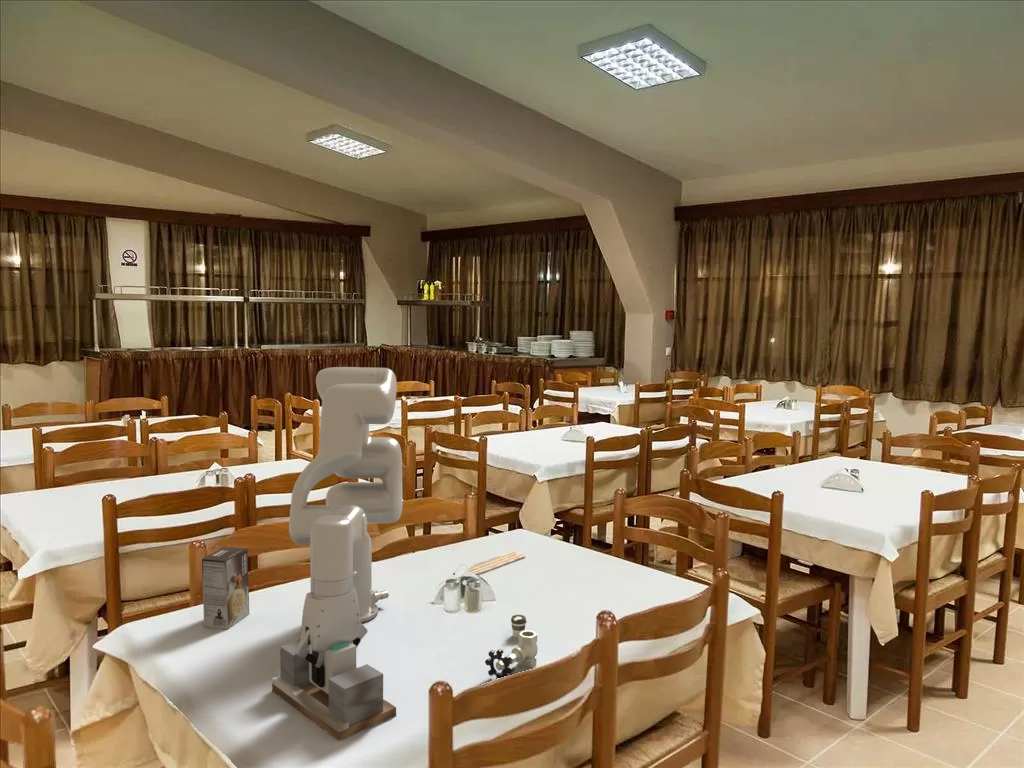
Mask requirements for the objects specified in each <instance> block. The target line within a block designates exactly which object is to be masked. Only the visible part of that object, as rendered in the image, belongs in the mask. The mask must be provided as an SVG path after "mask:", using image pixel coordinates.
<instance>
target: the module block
mask: <svg viewBox="0 0 1024 768" xmlns="http://www.w3.org/2000/svg"><path fill="white" fill-rule="evenodd" d="M311 647H312V645H309V653H310V651H311ZM317 653H318V652H317ZM316 657H317V656H316ZM322 665H323V666H324V667H325V686H324V687H322V688H321V687H319V686H318V685H316V684H315V683H314V682H313V681H312V667H311V663H310V662H309V681H310V682H311V683H313V684H314V685H316V686H317V687H319V688H320V689H321V690H323V691H324V692H326V693H327V694H329V678H331V677H334V676H337V675H339V674H342V673H345V672H347V671H350V670H353V669H355V668H357V648H356V645H354V644H352V643H350V642H343V643H340V644H338V645H335V646H332V647H331V648H329V649H326V650H324V658H323V662H322Z"/></svg>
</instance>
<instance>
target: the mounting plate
mask: <svg viewBox="0 0 1024 768" xmlns="http://www.w3.org/2000/svg"><path fill="white" fill-rule="evenodd" d="M300 641H301V639H299V640H296V641H293V642H290V643H287V644H284V645H281V646H280V648H279V649H280V650H279V653H280V664H279V665H280V675H278V676H275V677H271V688H272V692H273V693H274V694H276V695H277V696H278V697H280V698H281V699H283V700H284V701H285V702H286V703H287V704H289V705H290V706H292V707H293V708H294V709H295V710H296V711H298V712H300V714H302V715H304V716H305V717H306V718H308V719H309V720H310V721H312V722H313V723H314V724H315V725H316V726H318V727H319V728H321V729H322V730H323V731H325V732H326V733H328V734H329V735H330V736H331V737H333V738H334V739H335V740H337V741H338V742H339V741H341V740H344V739H346V738H348V737H350V736H353V735H355V734H357V733H360V732H361V731H365V730H367V729H369V728H371V727H372V726H375V725H377V724H380V723H382V722H384V721H387V720H389V719H391V718H394V717H395V716H397V707H396V706H395V705H393V704H392V703H390V702H389V701H387V700H385V699H384V673H383V672H381V671H379V670H378V669H376V668H374V667H372V666H371V665H369V664H367V663H366V664H363V665H361V666H358V667H356V668H355V669H353V670H350V671H347V672H345V673H342V674H339V675H337V676H334V677H331V678H329V694H327V693H326V692H324V691H323V690H321V689H320V688H319V687H317V686H316V685H314V684H313V683H311V682H310V681H309V662H308V661H307V660H306V659H303V658H301V657H299V656H298V655H296V654H295V653H294V652H295V649H296V648H297V646H298V644H299V643H300ZM306 651H307V652H308V653H309V646H308V648H307V650H306Z"/></svg>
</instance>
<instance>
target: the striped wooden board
mask: <svg viewBox="0 0 1024 768" xmlns="http://www.w3.org/2000/svg"><path fill="white" fill-rule="evenodd" d="M523 559H526V555H524V554H523V553H521V552H519V551H508V552H506V553H504V554H501V555H498V556H494V557H493V558H490V559H489V558H488V559H486V560H484V561H481V562H478V563H475V564H472V565H469V566H467V567H468V569H469V572H470V573H471V574H475V575H478V576H480V575H484V574H486V573H489V572H492V571H494V570H496V569H499V568H501V567H505V566H507V565H510V564H513V563H515V562H518V561H522V560H523Z"/></svg>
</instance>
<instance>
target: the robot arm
mask: <svg viewBox="0 0 1024 768" xmlns="http://www.w3.org/2000/svg"><path fill="white" fill-rule="evenodd" d="M315 385H316V390H317V392H318V395H319V397H320V399H321V401H322V402H321V413H320V414H321V415H320V428H319V440H318V441H319V443H318V453H317V455H316V456H315V457H314V458H313V459H312V460H311V461H310V462H309V463H308V464H307V465H306V467H304V469H303V470H302V471H301V473H300V474H299V476H298V477H297V479H296V481H295V482H294V484H293V489H292V491H291V500H290V509H289V520H288V521H289V523H288V530H289V531H288V533H289V536H290V539H291V540H292V542H294V543H295V544H297V545H299V546H309V547H310V550H309V552H310V553H309V554H310V556H309V557H310V558H309V560H310V567H309V568H310V592H307V593H306V594H305V598H304V602H303V603H304V604H303V609H302V617H301V630H300V631H301V632H300V633H301V635H300V637H301V638H300V640H301V641H300V643H299V644H298V646H297V648H296V649H295V652H294V653H295V654H296V655H298V656H299V657H301V658H303V659H306V660H307V661H308V662H310V663H311V667H312V681H313V682H314V683H315V684H316V685H318V686H319V687H321V688H322V687H324V686H325V667H324V666H323V665H322V662H323V658H324V650H326V649H329V648H331V647H332V646H335V645H338V644H340V643H343V642H350V643H352V644H354V645H356V649H357V648H358V646H359V645H360V643H361V640H362V639H363V638H364V637H365V636H366V635H367V634H368V629H367V627H365V625H364V624H362V623H365V622H368V621H370V620H373V619H374V618H376V616H378V614H379V606H378V605H377V604H376V603H378V602H379V601H381V600H384V599H388V598H389V596H390V595H389V594H390V593H389V592H388V590H386V589H385V590H384V589H383V590H381V591H379V590H377V589H373V590H372V583H373V582H372V577H373V576H372V573H373V572H372V564H373V563H372V557H373V556H372V553H373V552H372V548H373V546H372V540H371V537H370V535H369V533H368V532H367V531H368V530H367V529H368V524H371V525H372V524H392V523H396V522H398V520H399V519H400V518H401V516H402V512H403V454H402V448H401V445H400V443H399V441H398V440H396V439H395V438H393V437H389V436H371V435H370V425H386V424H388V423H390V422H391V421H392V419H393V416H394V413H395V409H396V401H397V400H396V398H397V391H398V387H397V376H396V374H395V373H394V371H393V370H392V369H390V368H388V367H365V366H364V367H358V366H336V367H335V366H334V367H333V366H332V367H326V368H324V369H321V370H319V371H318V372H317V374H316V378H315ZM334 474H335V475H336V476H337V477H339V478H344V479H379V480H381V481H380V482H379V481H378V482H377V481H376V482H373V481H372V482H371V481H369V482H366V481H365V482H364V481H363V482H362V481H358V482H355V481H354V482H353V481H348V482H347V481H346V482H341V483H337V484H334V485H332V486H331V487H330V488H329V489H328V490H327V491H326V494H325V495H326V496H325V504H315V505H314V504H309V505H307V503H308V497H309V494H310V492H311V491H312V489H313V488H314V487H315V486H316V485H317V484H318V483H320V482H321V481H322V480H324V479H325V478H328V477H330V476H332V475H334ZM378 591H379V592H378ZM309 645H312V647H311V651H310V653H308V652H307V651H306V650H307V648H308V646H309ZM317 652H318V653H317ZM316 656H317V657H316Z"/></svg>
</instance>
